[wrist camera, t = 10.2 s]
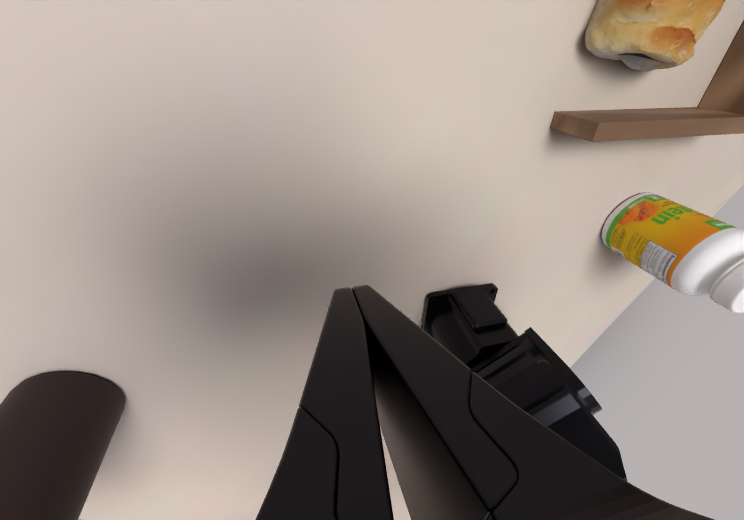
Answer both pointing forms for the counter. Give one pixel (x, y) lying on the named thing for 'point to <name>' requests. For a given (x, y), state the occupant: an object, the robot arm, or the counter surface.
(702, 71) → the counter surface
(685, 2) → the pastry
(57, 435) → the vinegar
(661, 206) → the supplement bottle
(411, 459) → the robot arm
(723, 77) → the box
